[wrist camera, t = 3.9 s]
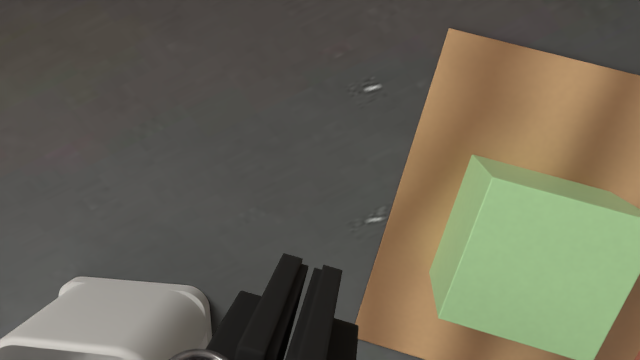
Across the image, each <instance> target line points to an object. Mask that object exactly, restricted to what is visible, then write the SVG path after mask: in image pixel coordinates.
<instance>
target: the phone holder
mask: <svg viewBox="0 0 640 360" xmlns="http://www.w3.org/2000/svg"><path fill="white" fill-rule="evenodd" d="M211 339H212V331H211V318H210V306H209V302H208V299H207V298H206V296H205V295H204V294H203V293H202V292H201V291H200V290H199V289H197V288H195V287H193V286H189V285H178V284H166V283H154V282H142V281H130V280H118V279H106V278H94V277H76V278H74V279H72V280H71V281H69V282H68V283H66V284H65V285H64V286H63V287H62V288H61V290H60V292H59V297H58V298H57V299H56V300H54V301H53V302H52V303H50V304H49V305H47V306H46V307H45V308H43V309H42V310H40V311H39V312H38V313H36V314H35V315H34V316H32V317H31V318H29V319H28V320H27V321H25V322H24V323H23V324H21V325H20V326H18V327H17V328H16V329H14V330H13V331H11V332H10V333H9V334H7V335H6V336H5V337H3V338H2V339H0V360H169V359H170V358H171V357H173V356H174V355H175V354H178V353H180V352H183V351H185V350H191V349H206V347H207V345H208V344H209V342H210V340H211Z"/></svg>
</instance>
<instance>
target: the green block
mask: <svg viewBox="0 0 640 360" xmlns="http://www.w3.org/2000/svg"><path fill="white" fill-rule="evenodd" d="M429 274H430V279H431V284H432V289H433V295H434V300H435V305H436V310H437V315H438V318H439V319H442V320H445V321H449V322H452V323H455V324H459V325H462V326H465V327H469V328H472V329H475V330H479V331H482V332H485V333H489V334H492V335H495V336H498V337H502V338H505V339H508V340H512V341H515V342H518V343H522V344H525V345H528V346H532V347H535V348H538V349H542V350H545V351H548V352H552V353H555V354H558V355H561V356H565V357H568V358H571V359H575V360H594V359H595V357H596V355H597V353H598V351H599V349H600V347H601V346H602V344H603V342H604V340H605V338H606V336H607V334H608V332H609V331H610V329H611V327H612V325H613V323H614V321H615V319H616V317H617V316H618V314H619V312H620V310H621V308H622V306H623V304H624V303H625V301H626V299H627V297H628V295H629V293H630V291H631V289H632V288H633V286H634V284H635V282H636V280H637V278H638V276H639V274H640V209H639V208H637V207H635V206H634V205H632V204H630V203H629V202H627V201H625V200H623V199H622V198H620V197H618V196H617V195H615V194H613V193H612V192H610V191H606V190H602V189H599V188H595V187H591V186H588V185H584V184H580V183H577V182H573V181H569V180H565V179H562V178H558V177H554V176H551V175H547V174H543V173H540V172H536V171H532V170H529V169H525V168H521V167H517V166H514V165H510V164H506V163H503V162H499V161H495V160H492V159H488V158H484V157H480V156H477V155H472V156H471V158H470V161H469V164H468V167H467V169H466V172H465V175H464V178H463V180H462V183H461V186H460V189H459V191H458V194H457V197H456V200H455V202H454V205H453V208H452V211H451V213H450V216H449V219H448V222H447V224H446V227H445V230H444V233H443V235H442V238H441V241H440V244H439V246H438V249H437V252H436V254H435V257H434V260H433V263H432V265H431V268H430V271H429Z"/></svg>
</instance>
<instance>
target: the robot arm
mask: <svg viewBox="0 0 640 360" xmlns="http://www.w3.org/2000/svg"><path fill="white" fill-rule="evenodd" d="M307 270H308V266H307V265H304V264H302V258H298V257H295V256H291V255H288V254H285V253H283V255H282V257H281V259H280V261H279V263H278V265H277V267H276V269H275V271H274V273H273V275H272V277H271V279H270V281H269V283H268V285H267V287H266V289H265V291H264V293H263V295H262V297H261V296H258V295H255V294H251V293H248V292H245V291H240V293H239V294H238V296H237V297H236V299H235V301H234V302H233V304H232V306H231V307H230V309H229V310H228V312H227V314H226V315H225V317H224V319H223V320H222V322H221V324H220V325H219V327H218V329H217V330H216V332H215V334H214V335H213V337H212V339H211V340H210V342H209V344H208V345H207V347H206V349H191V350H185V351H183V352H180V353H178V354H175V355H174V356H173V357H171V358H170V359H169V360H283V359H284V356H285V352H286V349H287V345H288V342H289V338H290V334H291V330H292V326H293V323H294V319H295V315H296V311H297V308H298V304H299V300H300V296H301V293H302V289H303V285H304V281H305V278H306V274H307ZM341 275H342V270H340V269H336V268H333V267H329V266H326V265H323V268H322V270H321V269H317V268H314V271H313V274H312V277H311V280H310V283H309V286H308V290H307V293H306V296H305V299H304V302H303V305H302V308H301V312H300V315H299V318H298V321H297V324H296V327H295V330H294V334H293V337H292V340H291V343H290V346H289V349H288V352H287V356H286V359H285V360H356V354H357V342H358V330H359V326H358V325H355V324H352V323H349V322H345V321H342V320H339V319H335V318H334V313H335V308H336V302H337V297H338V292H339V286H340V281H341Z"/></svg>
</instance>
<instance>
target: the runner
mask: <svg viewBox="0 0 640 360" xmlns="http://www.w3.org/2000/svg"><path fill="white" fill-rule="evenodd" d="M472 155H477V156H480V157H484V158H488V159H492V160H495V161H499V162H503V163H506V164H510V165H514V166H517V167H521V168H525V169H529V170H532V171H536V172H540V173H543V174H547V175H551V176H554V177H558V178H562V179H565V180H569V181H573V182H577V183H580V184H584V185H588V186H591V187H595V188H599V189H602V190H606V191H610V192H612V193H613V194H615V195H617V196H618V197H620V198H622V199H623V200H625V201H627V202H629V203H630V204H632V205H634V206H635V207H637V208H639V209H640V76H639V75H635V74H631V73H627V72H623V71H619V70H615V69H611V68H607V67H603V66H599V65H595V64H591V63H587V62H583V61H579V60H575V59H571V58H567V57H563V56H559V55H555V54H551V53H547V52H542V51H538V50H534V49H530V48H526V47H522V46H518V45H514V44H510V43H506V42H502V41H498V40H494V39H490V38H486V37H482V36H478V35H474V34H470V33H466V32H462V31H458V30H454V29H450V28H449V30H448V33H447V36H446V39H445V42H444V45H443V48H442V52H441V55H440V58H439V61H438V64H437V67H436V70H435V74H434V77H433V80H432V83H431V86H430V89H429V92H428V96H427V99H426V102H425V105H424V108H423V111H422V114H421V118H420V121H419V124H418V127H417V130H416V133H415V136H414V140H413V143H412V146H411V149H410V152H409V155H408V158H407V162H406V165H405V168H404V171H403V174H402V177H401V180H400V184H399V187H398V190H397V193H396V196H395V199H394V202H393V206H392V209H391V212H390V215H389V218H388V221H387V224H386V228H385V231H384V234H383V237H382V240H381V243H380V246H379V250H378V253H377V256H376V259H375V262H374V265H373V268H372V272H371V275H370V278H369V281H368V284H367V287H366V290H365V294H364V297H363V300H362V303H361V306H360V309H359V312H358V316H357V319H356V322H355V325H358V326H359V330H358V339H360V340H364V341H367V342H370V343H373V344H377V345H380V346H383V347H386V348H390V349H393V350H396V351H399V352H402V353H406V354H409V355H412V356H415V357H419V358H422V359H425V360H575V359H571V358H568V357H565V356H561V355H558V354H555V353H552V352H548V351H545V350H542V349H538V348H535V347H532V346H528V345H525V344H522V343H518V342H515V341H512V340H508V339H505V338H502V337H498V336H495V335H492V334H489V333H485V332H482V331H479V330H475V329H472V328H469V327H465V326H462V325H459V324H455V323H452V322H449V321H445V320H442V319H439V318H438V315H437V310H436V305H435V300H434V295H433V289H432V284H431V279H430V274H429V271H430V268H431V265H432V263H433V260H434V257H435V254H436V252H437V249H438V246H439V244H440V241H441V238H442V235H443V233H444V230H445V227H446V224H447V222H448V219H449V216H450V213H451V211H452V208H453V205H454V202H455V200H456V197H457V194H458V191H459V189H460V186H461V183H462V180H463V178H464V175H465V172H466V169H467V167H468V164H469V161H470V158H471V156H472ZM594 360H640V274H639V276H638V278H637V280H636V282H635V284H634V286H633V288H632V289H631V291H630V293H629V295H628V297H627V299H626V301H625V303H624V304H623V306H622V308H621V310H620V312H619V314H618V316H617V317H616V319H615V321H614V323H613V325H612V327H611V329H610V331H609V332H608V334H607V336H606V338H605V340H604V342H603V344H602V346H601V347H600V349H599V351H598V353H597V355H596V357H595V359H594Z"/></svg>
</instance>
